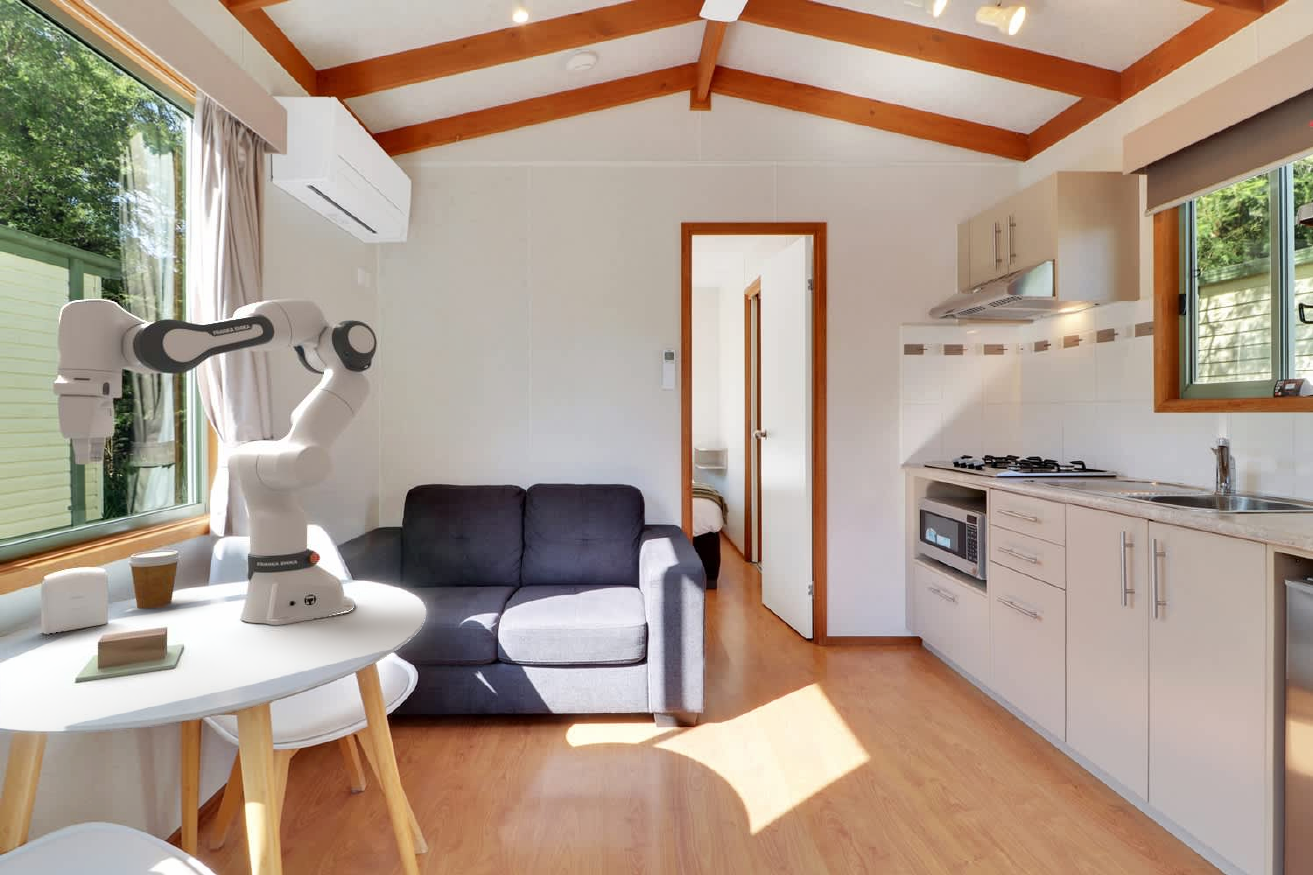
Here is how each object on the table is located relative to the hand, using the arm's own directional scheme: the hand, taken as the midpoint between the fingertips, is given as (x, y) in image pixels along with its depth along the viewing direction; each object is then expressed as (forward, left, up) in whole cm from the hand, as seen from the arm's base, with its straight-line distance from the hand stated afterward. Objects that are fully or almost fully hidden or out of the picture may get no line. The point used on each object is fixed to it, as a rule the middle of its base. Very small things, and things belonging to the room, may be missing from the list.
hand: (89, 462), depth 116 cm
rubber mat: (-8, +10, -35) cm, 37 cm away
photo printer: (+6, -20, -35) cm, 41 cm away
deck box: (-8, +10, -34) cm, 37 cm away
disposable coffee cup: (-5, -34, -35) cm, 49 cm away
